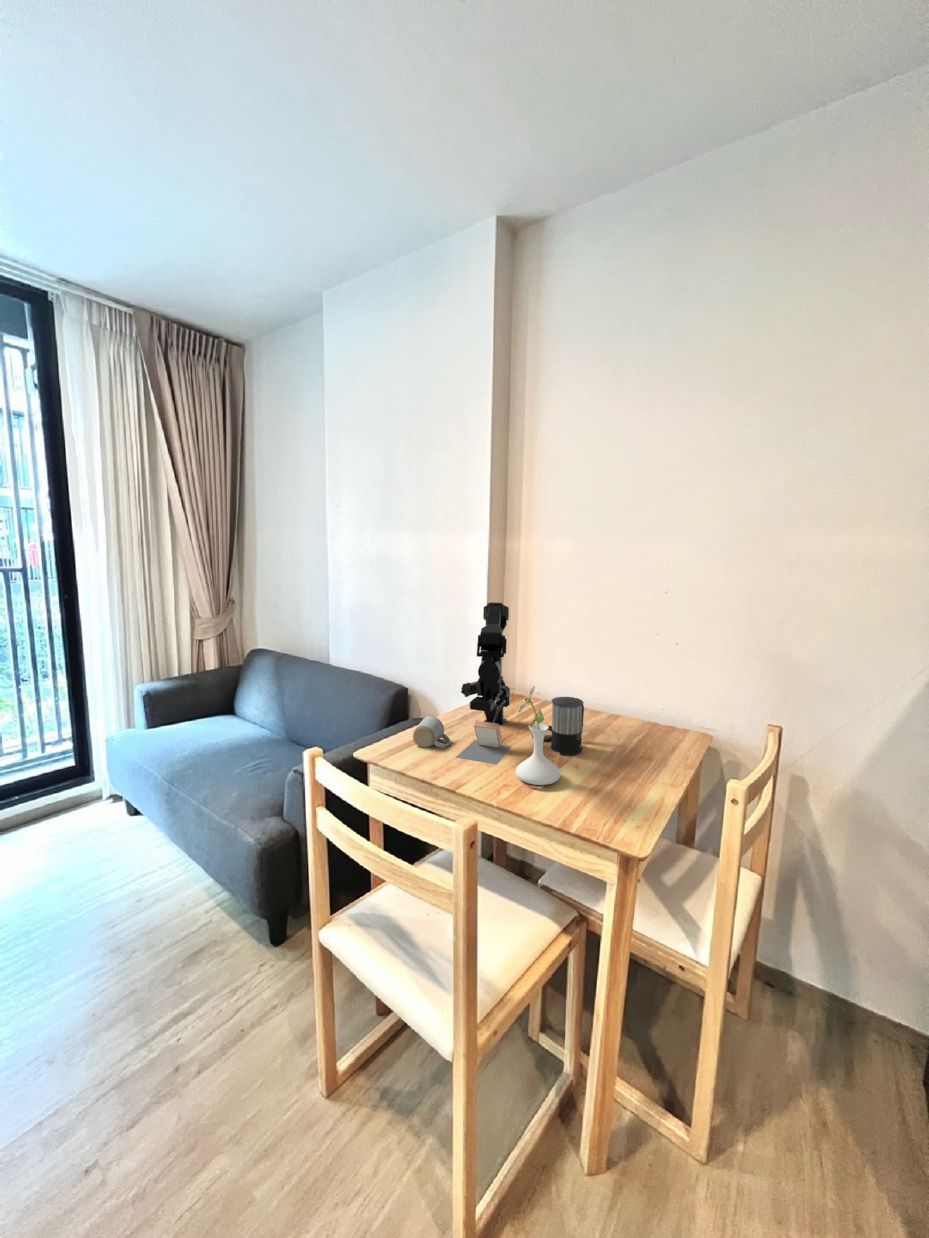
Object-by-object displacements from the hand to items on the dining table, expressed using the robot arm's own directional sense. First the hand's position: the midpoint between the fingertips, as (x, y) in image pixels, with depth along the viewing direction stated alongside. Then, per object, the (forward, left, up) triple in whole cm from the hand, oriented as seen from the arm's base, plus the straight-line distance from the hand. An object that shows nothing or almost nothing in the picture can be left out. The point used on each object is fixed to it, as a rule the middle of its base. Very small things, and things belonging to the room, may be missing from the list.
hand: (490, 725), depth 145 cm
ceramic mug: (+5, -17, -7) cm, 19 cm away
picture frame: (0, 0, -6) cm, 6 cm away
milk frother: (-9, +18, -7) cm, 21 cm away
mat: (+5, 0, -7) cm, 8 cm away
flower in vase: (+16, +18, -7) cm, 25 cm away
